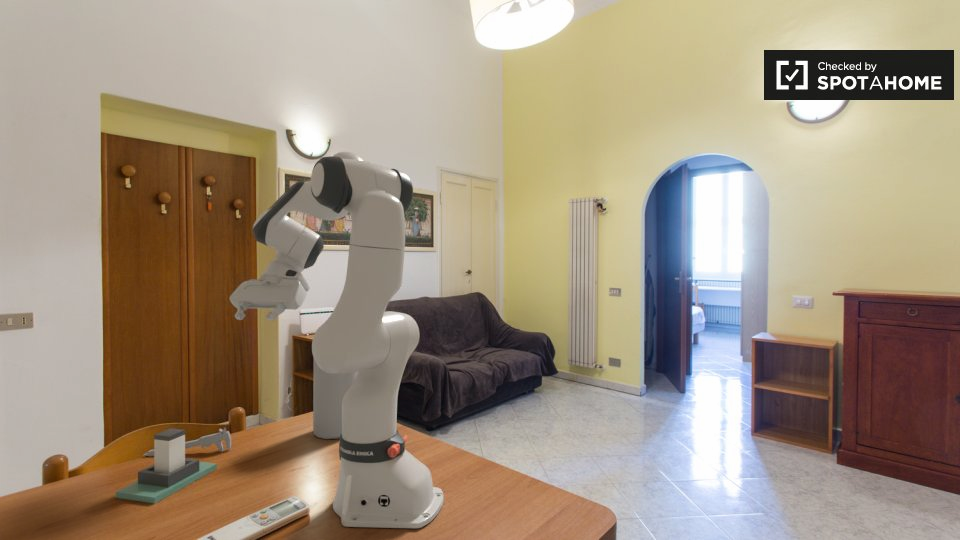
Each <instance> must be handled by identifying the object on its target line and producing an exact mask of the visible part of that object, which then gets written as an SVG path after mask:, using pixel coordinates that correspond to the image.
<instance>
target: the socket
mask: <svg viewBox="0 0 960 540" xmlns="http://www.w3.org/2000/svg"><path fill="white" fill-rule="evenodd" d="M217 465H218V464H217V463H213V462H207V461H200V459H195V458H186V457H185V465H184V466H182V467H180V468H178V469H176V470H174V471H172V472H170V473H162V472H155V471H154V464H151V465H149V466H147V467H145V468H143V469H141V470H139V471H137V481H135V482H133V483H130V484H129V485H127V486H125V487H123V488H121V489H118V490H116V491H115V498H116V499H123V500H128V501H129V500H130V501H137V502H143V503H147V504H156V503H158V502H160V501H162V500H163V499H165V498H167V497H169V496H171V495H173V494H175V493H176V492H178V491H179V490H182V489H183V488H185V487H186V486H187V487H188V485H189V486H190V484H192V483H194V482H196V481H198V480H199V479H202V478H203V477H205V476H206V475H208V474H210V473H211V472H213V471H216V470H217V469H218V466H217Z"/></svg>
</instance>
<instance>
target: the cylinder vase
mask: <svg viewBox="0 0 960 540" xmlns="http://www.w3.org/2000/svg"><path fill="white" fill-rule="evenodd" d="M357 373H358V372H354V373H345V374H332V373H327V372H325V371H323V370H322V369H321V368H320V367H319V366H318V365H317V363H316V362H315V359H314V358H313V375H312V376H313V379H312V380H313V384H312V385H313V387H312V388H313V390H312V391H313V392H312V393H313V397H312V398H313V400H312V404H313V406H312V407H313V411H312V413H313V414H312V415H313V416H312V417H313V421H312V424H313V425H312V427H313V428H312V429H313V430H312V431H313V435H314V436H315V437H317V438H320V439H324V440H338V439H339V440H340V435H341V434H342V399H343V396H344V394H345V393H346V391H347V390H348V389H349V387H350V386H351V385H352V384H353V382H354V380H355V378H356V376H357Z"/></svg>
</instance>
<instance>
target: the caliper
mask: <svg viewBox="0 0 960 540" xmlns="http://www.w3.org/2000/svg"><path fill="white" fill-rule="evenodd" d="M222 441H224V442H225V445H226V448H227V452H229V451H230V450H231V449H232V436H231V433H230V430H227V428H226V427H224V428H223V429H222V428H219V429H218V432H217V433H212V434H208V435H204V436H201V437H200V438H197V439H194V440H189V441H185V450H186V449H190V448H195V447H198V446H199V447H201V449H203V448H207V447H210V446H212V445H215V446H216V447H217V449H218V451H219V452H224V445H223V442H222ZM147 456H148V457H154V449H150V450H148V451H147V452H145V453H144V454H142V457H147Z"/></svg>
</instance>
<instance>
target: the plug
mask: <svg viewBox="0 0 960 540" xmlns="http://www.w3.org/2000/svg"><path fill="white" fill-rule="evenodd" d="M153 437H154V438H153V439H154V440H153V441H154V442H153V443H154V445H153V446H154V456H153V457H154V458H153V460H154V461H153V463H154V464H153V465H154V471H155V472H162V473H170V472H172V471H174V470H176V469H178V468H180V467H182V466H184V465H185V458H186V449H185V442H186V430H185V429H179V428H173V427H172V428H168V429H166V430H163V431H161V432H159V433H158V432H157V433H156V434H155V433H154V435H153Z"/></svg>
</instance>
